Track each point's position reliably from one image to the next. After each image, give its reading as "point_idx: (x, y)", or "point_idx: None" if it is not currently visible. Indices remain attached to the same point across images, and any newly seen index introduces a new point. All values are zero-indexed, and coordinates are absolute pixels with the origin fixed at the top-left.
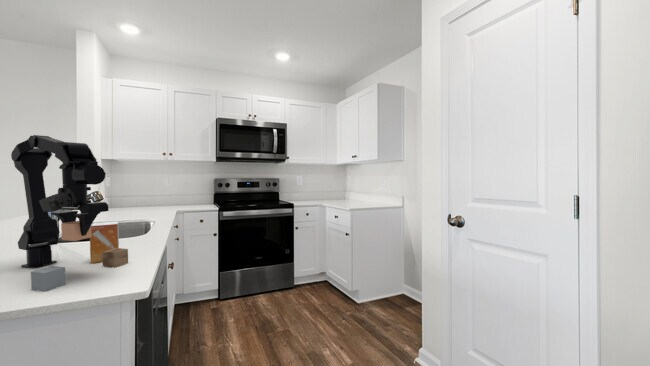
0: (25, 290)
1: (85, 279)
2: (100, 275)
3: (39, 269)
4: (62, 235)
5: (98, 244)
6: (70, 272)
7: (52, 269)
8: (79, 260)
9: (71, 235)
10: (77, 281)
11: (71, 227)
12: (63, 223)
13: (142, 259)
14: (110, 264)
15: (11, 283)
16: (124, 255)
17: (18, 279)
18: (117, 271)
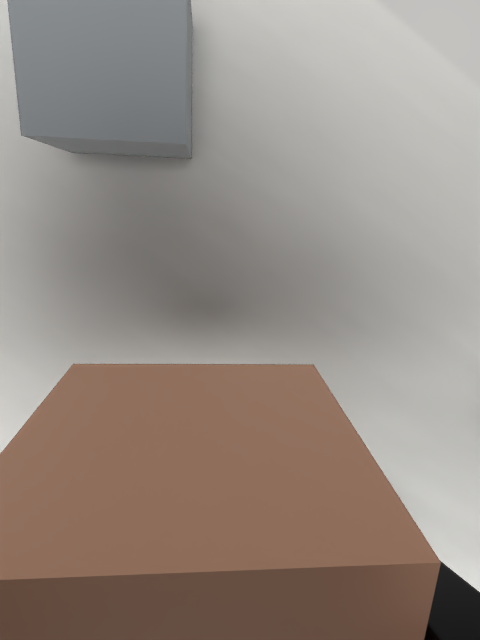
0: (218, 4)
1: (48, 255)
2: (33, 333)
3: (174, 24)
4: (317, 395)
5: None
6: (280, 336)
7: (56, 49)
8: (440, 507)
9: (115, 398)
10: (60, 215)
11: (63, 496)
12: (356, 568)
13: None
14: None
15: (445, 97)
16: None
17: (474, 167)
18: (5, 412)
